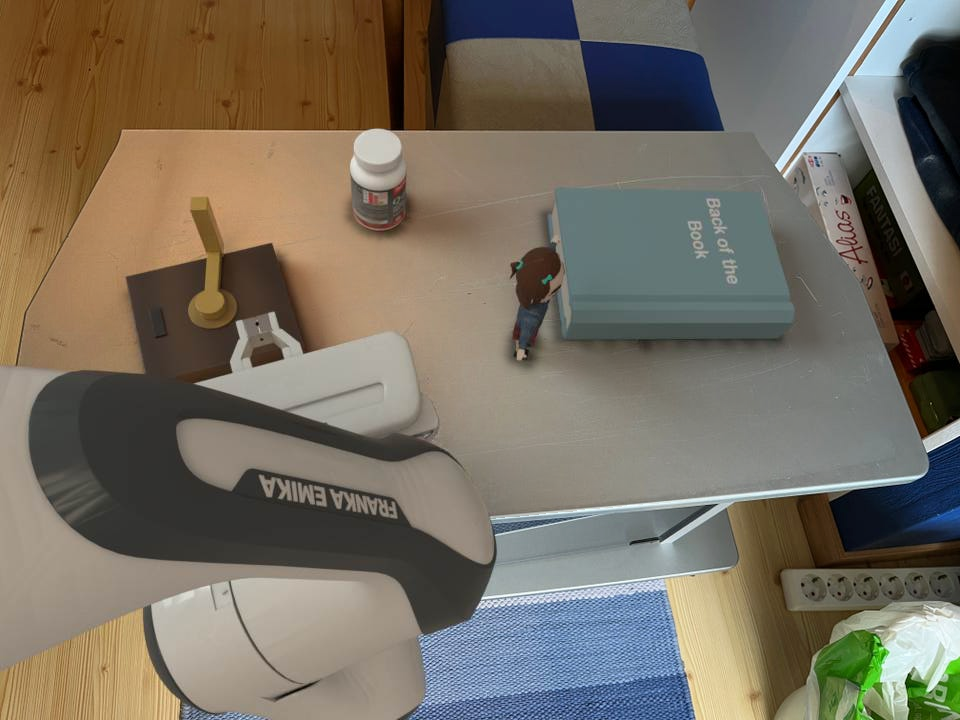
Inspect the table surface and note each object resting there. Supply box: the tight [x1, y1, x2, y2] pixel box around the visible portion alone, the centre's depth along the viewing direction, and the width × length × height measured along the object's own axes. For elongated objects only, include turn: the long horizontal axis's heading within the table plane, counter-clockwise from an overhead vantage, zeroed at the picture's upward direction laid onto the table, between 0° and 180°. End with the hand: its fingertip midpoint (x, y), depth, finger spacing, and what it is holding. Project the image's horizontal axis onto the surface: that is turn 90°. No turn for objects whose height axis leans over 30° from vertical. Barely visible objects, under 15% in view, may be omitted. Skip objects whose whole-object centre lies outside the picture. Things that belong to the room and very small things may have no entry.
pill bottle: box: [349, 128, 407, 232], centre depth 77 cm, size 6×6×10 cm
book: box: [546, 187, 795, 341], centre depth 78 cm, size 23×16×5 cm
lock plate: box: [125, 242, 306, 384], centre depth 71 cm, size 14×12×3 cm
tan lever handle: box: [189, 196, 227, 320], centre depth 68 cm, size 9×3×7 cm, turn 6°
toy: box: [509, 235, 565, 362], centre depth 68 cm, size 14×5×15 cm, turn 164°
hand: (256, 319), depth 56 cm, fingers closed
